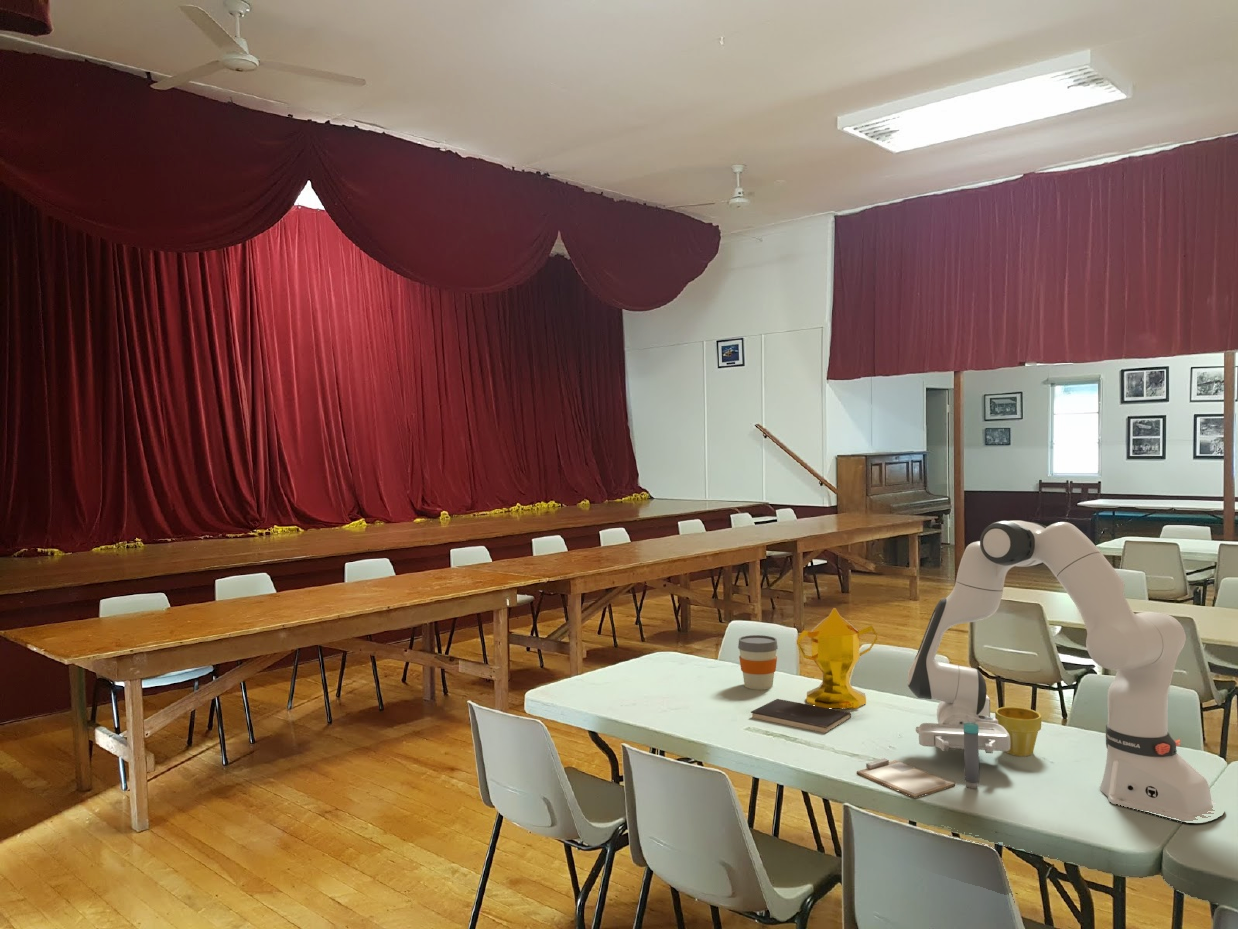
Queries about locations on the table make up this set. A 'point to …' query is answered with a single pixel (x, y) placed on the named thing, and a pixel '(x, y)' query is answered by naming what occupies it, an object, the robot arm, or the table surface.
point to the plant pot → (1020, 728)
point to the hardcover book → (800, 715)
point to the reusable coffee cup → (758, 660)
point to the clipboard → (904, 777)
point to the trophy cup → (835, 661)
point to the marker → (971, 755)
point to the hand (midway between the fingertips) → (967, 748)
